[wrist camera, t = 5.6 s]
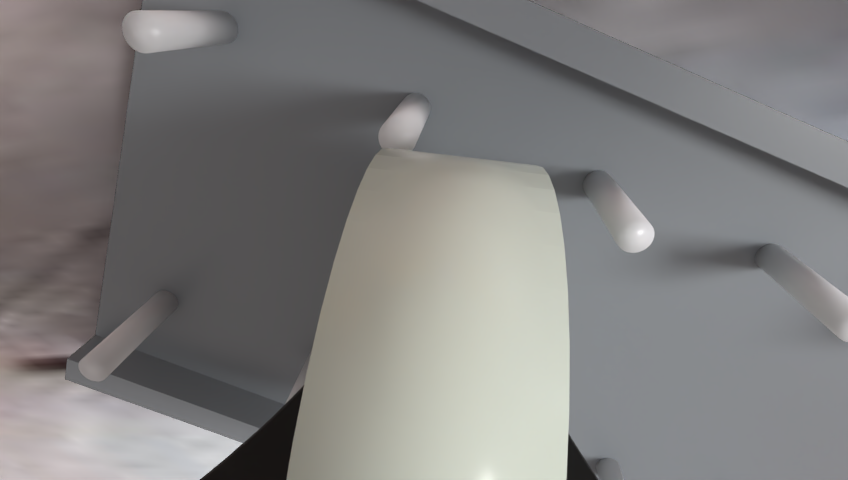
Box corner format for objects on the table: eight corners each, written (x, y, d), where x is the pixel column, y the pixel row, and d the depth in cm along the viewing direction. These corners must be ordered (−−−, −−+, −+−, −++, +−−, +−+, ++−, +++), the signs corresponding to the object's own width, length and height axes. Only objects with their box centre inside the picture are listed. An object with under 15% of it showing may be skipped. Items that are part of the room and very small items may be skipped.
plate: (519, 118, 11) (658, 383, 3) (466, 432, 15) (458, 976, 6) (412, 106, 12) (241, 325, 3) (384, 420, 15) (268, 940, 6)
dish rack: (1063, 241, 13) (1293, 332, 9) (727, 565, 19) (788, 700, 15) (184, -146, 11) (46, -222, 8) (108, 339, 17) (9, 429, 13)
